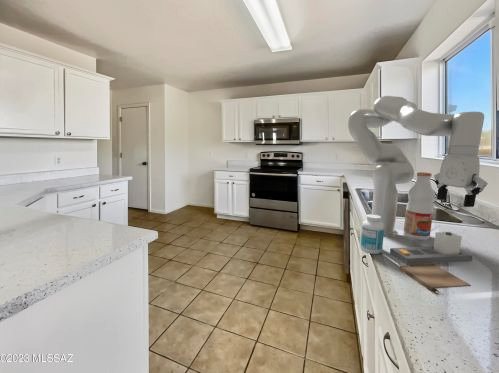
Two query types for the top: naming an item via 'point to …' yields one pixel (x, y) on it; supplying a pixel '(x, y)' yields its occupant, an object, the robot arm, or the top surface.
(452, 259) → the power strip
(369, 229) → the pill bottle
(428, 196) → the fruit juice
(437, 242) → the block
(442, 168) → the robot arm
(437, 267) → the walnut mat
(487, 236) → the top surface
